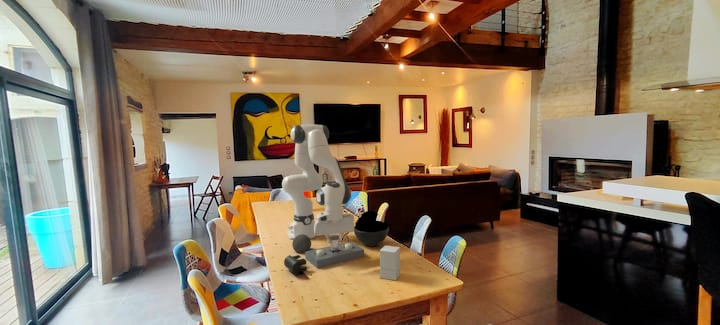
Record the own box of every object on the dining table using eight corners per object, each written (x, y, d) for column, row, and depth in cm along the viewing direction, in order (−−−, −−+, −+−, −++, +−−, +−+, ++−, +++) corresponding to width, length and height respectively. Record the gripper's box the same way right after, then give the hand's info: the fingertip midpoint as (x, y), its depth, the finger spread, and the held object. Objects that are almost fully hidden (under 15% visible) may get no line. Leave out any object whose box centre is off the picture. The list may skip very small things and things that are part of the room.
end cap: (284, 270, 154) (283, 256, 153) (298, 266, 158) (297, 253, 157) (292, 277, 145) (292, 263, 145) (307, 273, 150) (306, 259, 149)
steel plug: (329, 256, 166) (328, 236, 165) (336, 254, 168) (336, 234, 167) (333, 259, 162) (332, 238, 161) (340, 257, 164) (340, 236, 163)
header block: (305, 261, 164) (305, 248, 163) (350, 250, 178) (350, 239, 177) (317, 271, 152) (316, 257, 152) (364, 259, 166) (364, 246, 165)
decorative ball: (297, 249, 182) (296, 231, 181) (314, 250, 180) (313, 232, 179) (289, 255, 172) (288, 237, 171) (307, 256, 170) (307, 238, 169)
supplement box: (400, 274, 148) (400, 246, 147) (395, 280, 141) (395, 252, 140) (385, 271, 151) (385, 244, 150) (379, 278, 144) (379, 250, 143)
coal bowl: (381, 237, 200) (380, 207, 198) (394, 248, 181) (394, 214, 179) (349, 241, 194) (349, 210, 192) (360, 252, 175) (359, 218, 173)
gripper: (352, 211, 169) (352, 237, 170) (312, 215, 163) (313, 242, 164) (355, 214, 163) (356, 241, 164) (315, 218, 157) (315, 246, 158)
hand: (334, 242), depth 164 cm, fingers open, 4 cm apart
